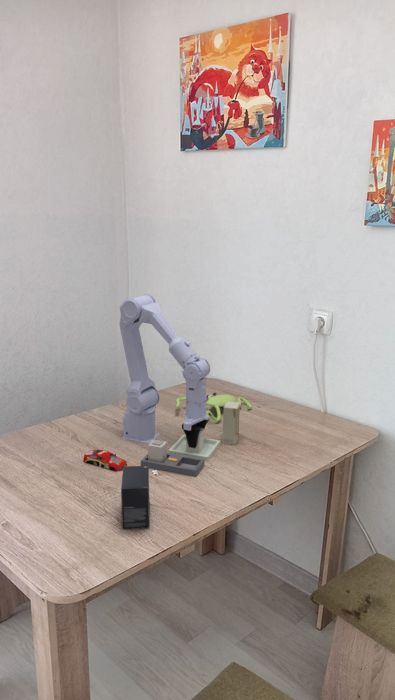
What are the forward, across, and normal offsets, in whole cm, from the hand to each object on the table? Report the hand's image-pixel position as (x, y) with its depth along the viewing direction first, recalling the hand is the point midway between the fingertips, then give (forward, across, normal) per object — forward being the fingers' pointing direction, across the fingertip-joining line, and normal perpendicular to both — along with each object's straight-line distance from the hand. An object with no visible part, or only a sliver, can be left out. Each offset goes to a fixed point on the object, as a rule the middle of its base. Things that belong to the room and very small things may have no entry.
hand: (195, 444), depth 165 cm
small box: (+2, -38, +1) cm, 38 cm away
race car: (+3, -18, +20) cm, 27 cm away
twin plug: (+2, -12, +6) cm, 14 cm away
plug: (+2, 0, 0) cm, 2 cm away
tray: (+2, 0, 0) cm, 2 cm away
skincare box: (+2, +10, -8) cm, 13 cm away
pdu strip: (+2, -12, +2) cm, 13 cm away
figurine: (+3, +33, +5) cm, 33 cm away
